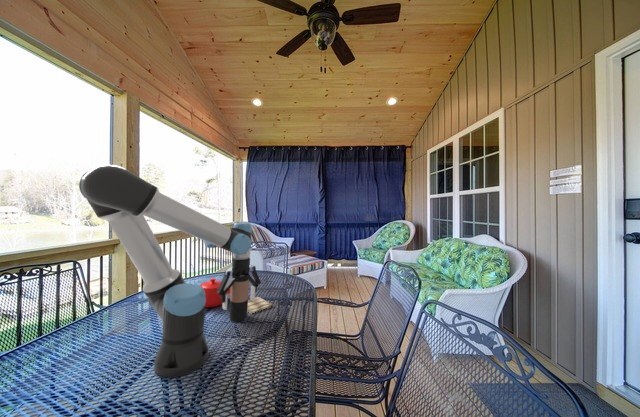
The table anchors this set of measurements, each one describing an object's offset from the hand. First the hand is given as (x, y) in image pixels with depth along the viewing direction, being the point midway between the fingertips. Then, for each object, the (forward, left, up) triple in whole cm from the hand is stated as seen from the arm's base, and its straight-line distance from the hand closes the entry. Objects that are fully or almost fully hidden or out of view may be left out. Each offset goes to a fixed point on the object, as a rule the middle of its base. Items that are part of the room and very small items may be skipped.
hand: (239, 304), depth 105 cm
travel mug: (0, 0, -6) cm, 6 cm away
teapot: (-1, +22, -6) cm, 23 cm away
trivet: (+12, +5, -6) cm, 14 cm away
